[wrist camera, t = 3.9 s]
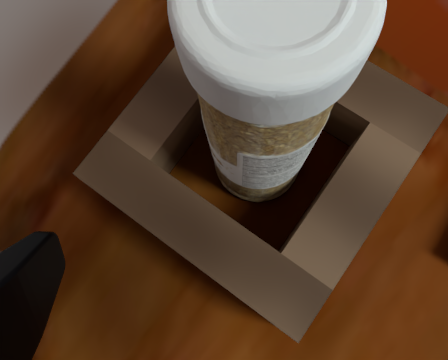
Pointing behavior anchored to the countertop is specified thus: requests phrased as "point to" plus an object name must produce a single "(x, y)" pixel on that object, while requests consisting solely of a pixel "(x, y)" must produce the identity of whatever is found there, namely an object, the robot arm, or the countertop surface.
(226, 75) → the sprinkles bottle
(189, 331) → the countertop surface
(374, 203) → the bottle holder
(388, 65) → the countertop surface
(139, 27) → the countertop surface
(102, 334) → the countertop surface
